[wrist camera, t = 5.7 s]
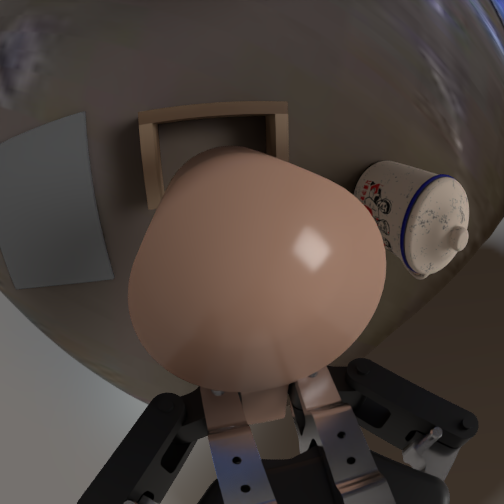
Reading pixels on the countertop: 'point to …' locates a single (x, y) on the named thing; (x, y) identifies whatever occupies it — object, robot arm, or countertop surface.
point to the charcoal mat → (50, 207)
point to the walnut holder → (150, 119)
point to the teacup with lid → (416, 214)
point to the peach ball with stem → (254, 276)
